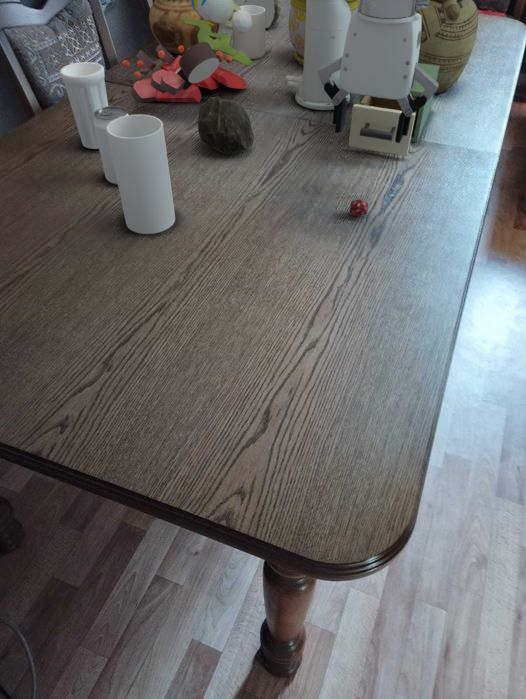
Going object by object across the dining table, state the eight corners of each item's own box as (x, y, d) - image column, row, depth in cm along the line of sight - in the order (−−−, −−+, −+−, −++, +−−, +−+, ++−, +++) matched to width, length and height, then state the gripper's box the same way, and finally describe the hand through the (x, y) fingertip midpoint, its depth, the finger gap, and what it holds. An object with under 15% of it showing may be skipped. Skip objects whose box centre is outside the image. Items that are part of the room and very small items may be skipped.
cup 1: (70, 149, 110) (50, 74, 100) (92, 132, 116) (75, 59, 105) (105, 155, 108) (88, 79, 98) (126, 138, 114) (112, 64, 103)
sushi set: (185, 138, 116) (89, 75, 116) (228, 139, 143) (150, 88, 143) (251, -1, 104) (145, -71, 104) (284, 29, 131) (200, -26, 131)
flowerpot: (369, 63, 144) (378, -10, 132) (315, 78, 137) (320, 2, 125) (326, 45, 154) (331, -24, 143) (273, 57, 147) (274, -14, 136)
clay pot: (212, 53, 141) (177, -35, 129) (156, 74, 150) (118, -7, 138) (240, 31, 153) (210, -52, 141) (186, 51, 162) (154, -25, 151)
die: (362, 222, 92) (364, 206, 90) (345, 217, 93) (347, 201, 91) (369, 214, 93) (371, 198, 91) (352, 209, 94) (355, 193, 92)
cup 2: (153, 239, 88) (137, 143, 77) (115, 224, 91) (94, 129, 80) (185, 216, 93) (174, 122, 82) (147, 202, 96) (132, 110, 85)
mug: (267, 45, 154) (267, 1, 146) (264, 60, 146) (264, 14, 138) (236, 45, 155) (235, 1, 147) (232, 59, 146) (230, 14, 138)
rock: (248, 159, 105) (241, 103, 99) (194, 160, 108) (184, 106, 102) (262, 141, 113) (256, 89, 107) (210, 143, 116) (202, 92, 110)
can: (133, 187, 100) (121, 121, 91) (100, 183, 101) (84, 118, 92) (146, 170, 104) (135, 106, 96) (113, 167, 105) (100, 103, 96)
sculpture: (254, 31, 180) (289, 17, 176) (246, 38, 165) (283, 23, 162) (243, -7, 174) (278, -22, 170) (232, -3, 159) (270, -20, 156)
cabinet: (416, 142, 112) (427, 93, 105) (355, 132, 115) (361, 83, 108) (429, 112, 122) (439, 65, 115) (373, 104, 126) (379, 58, 119)
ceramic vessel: (376, 68, 142) (397, -78, 120) (460, 74, 139) (497, -75, 117) (371, 96, 129) (393, -61, 107) (464, 104, 126) (506, -57, 104)
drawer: (402, 166, 103) (410, 124, 98) (342, 155, 106) (346, 114, 100) (420, 125, 115) (428, 86, 110) (366, 117, 118) (371, 79, 113)
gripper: (460, 1, 71) (431, 133, 83) (330, -11, 75) (321, 115, 88) (452, 17, 66) (422, 154, 78) (314, 3, 70) (306, 135, 83)
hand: (369, 133), depth 83 cm, fingers open, 8 cm apart
